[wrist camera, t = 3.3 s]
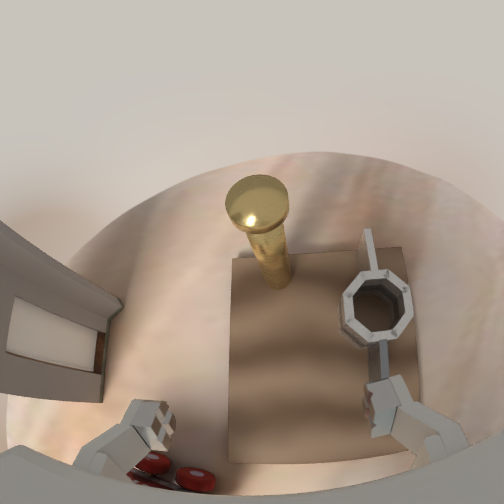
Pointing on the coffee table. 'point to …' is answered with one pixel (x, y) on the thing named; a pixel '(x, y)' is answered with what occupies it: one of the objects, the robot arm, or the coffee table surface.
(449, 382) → the coffee table surface
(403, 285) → the hinge
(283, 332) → the walnut board
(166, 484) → the toy fire truck
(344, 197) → the coffee table surface
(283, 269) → the hinge pin
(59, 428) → the coffee table surface
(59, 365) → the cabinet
